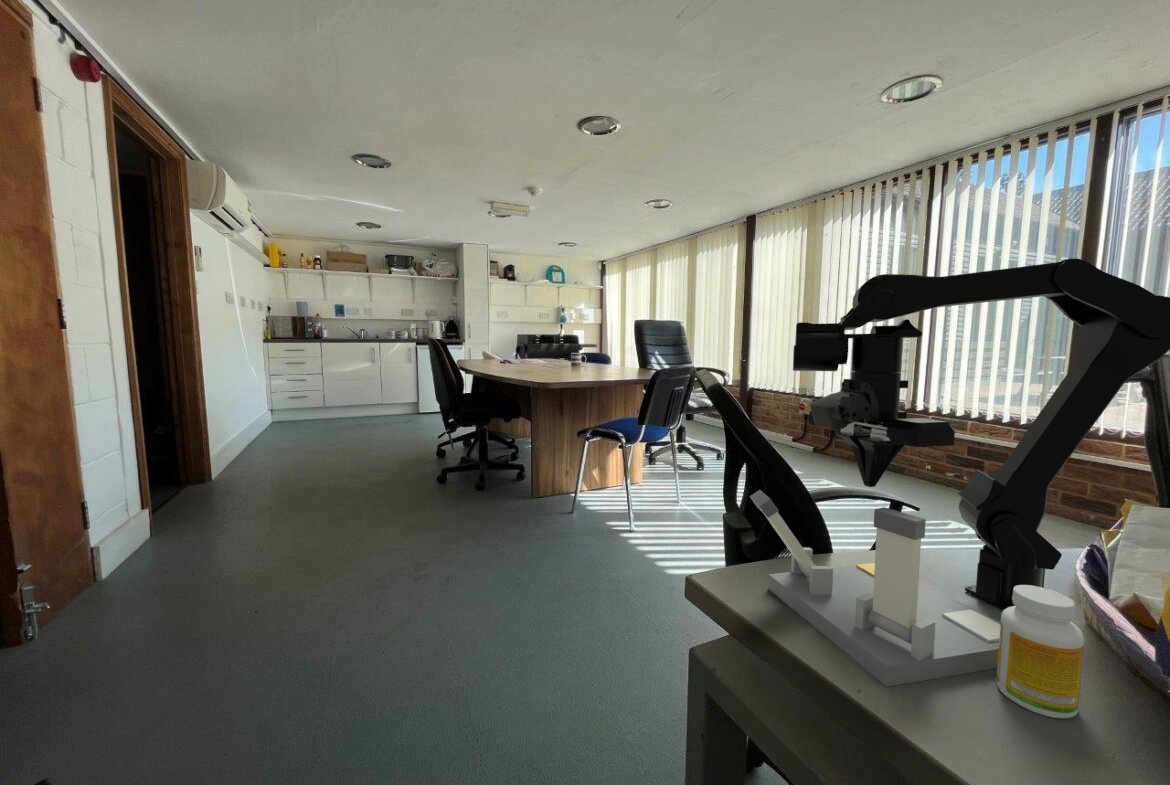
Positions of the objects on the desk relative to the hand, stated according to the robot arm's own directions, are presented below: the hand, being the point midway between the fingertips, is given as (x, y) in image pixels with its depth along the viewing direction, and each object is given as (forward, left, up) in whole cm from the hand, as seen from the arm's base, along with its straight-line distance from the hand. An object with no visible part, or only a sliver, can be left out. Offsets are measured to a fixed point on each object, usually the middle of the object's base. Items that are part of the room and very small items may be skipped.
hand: (869, 486), depth 65 cm
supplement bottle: (+3, +23, -13) cm, 27 cm away
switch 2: (+11, +16, -10) cm, 21 cm away
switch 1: (+11, +3, -10) cm, 15 cm away
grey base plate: (+6, +10, -13) cm, 17 cm away
